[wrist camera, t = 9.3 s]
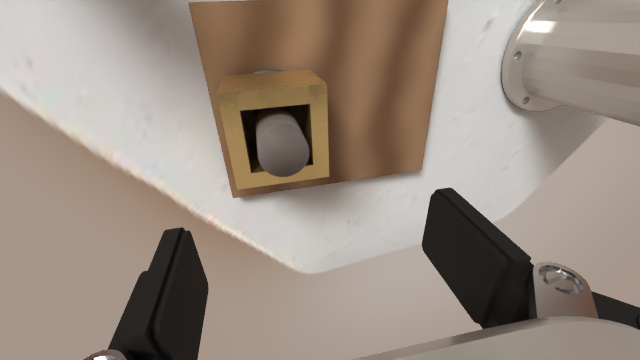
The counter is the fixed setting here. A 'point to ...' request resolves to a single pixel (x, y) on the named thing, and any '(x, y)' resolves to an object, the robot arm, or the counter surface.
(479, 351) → the robot arm
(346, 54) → the shaft board
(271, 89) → the brass collar
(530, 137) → the counter surface
